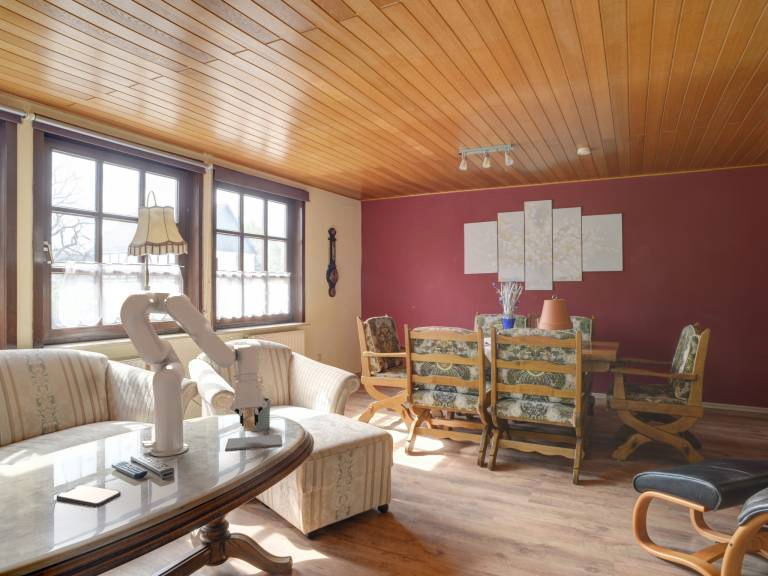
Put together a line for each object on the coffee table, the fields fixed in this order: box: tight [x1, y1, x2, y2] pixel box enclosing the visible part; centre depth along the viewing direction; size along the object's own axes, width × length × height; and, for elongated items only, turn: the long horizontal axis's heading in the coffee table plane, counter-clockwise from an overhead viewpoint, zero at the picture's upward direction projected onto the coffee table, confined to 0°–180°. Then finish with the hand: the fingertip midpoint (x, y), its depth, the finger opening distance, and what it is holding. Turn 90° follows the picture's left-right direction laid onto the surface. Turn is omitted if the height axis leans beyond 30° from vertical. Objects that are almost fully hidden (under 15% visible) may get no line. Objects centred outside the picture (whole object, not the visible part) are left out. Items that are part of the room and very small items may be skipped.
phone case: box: [56, 484, 122, 508], centre depth 144 cm, size 9×2×16 cm
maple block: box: [243, 408, 255, 432], centre depth 189 cm, size 4×4×10 cm
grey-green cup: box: [251, 396, 272, 432], centre depth 209 cm, size 10×10×12 cm
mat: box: [224, 434, 282, 452], centre depth 190 cm, size 20×12×1 cm, turn 102°
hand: (249, 424), depth 189 cm, fingers closed on maple block, 4 cm apart
